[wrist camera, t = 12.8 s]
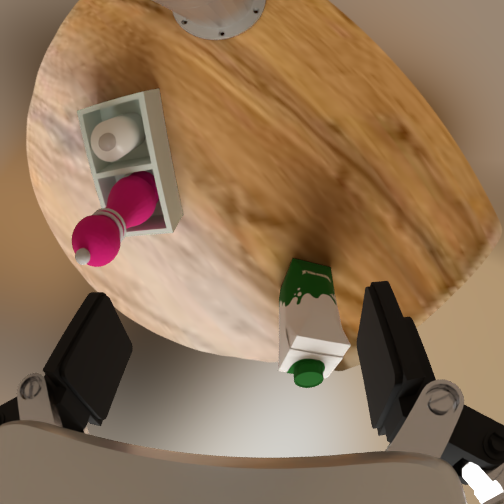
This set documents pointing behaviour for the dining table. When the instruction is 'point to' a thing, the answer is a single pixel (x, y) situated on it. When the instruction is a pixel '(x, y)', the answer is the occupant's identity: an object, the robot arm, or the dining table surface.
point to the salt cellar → (117, 136)
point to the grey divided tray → (137, 158)
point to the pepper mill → (115, 219)
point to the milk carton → (309, 324)
